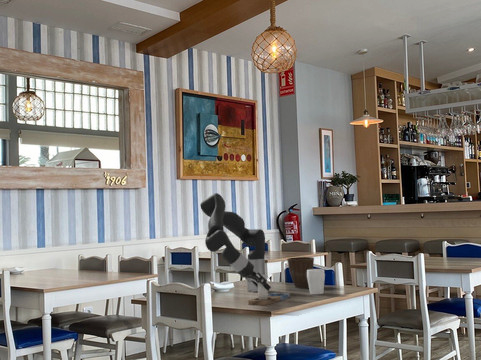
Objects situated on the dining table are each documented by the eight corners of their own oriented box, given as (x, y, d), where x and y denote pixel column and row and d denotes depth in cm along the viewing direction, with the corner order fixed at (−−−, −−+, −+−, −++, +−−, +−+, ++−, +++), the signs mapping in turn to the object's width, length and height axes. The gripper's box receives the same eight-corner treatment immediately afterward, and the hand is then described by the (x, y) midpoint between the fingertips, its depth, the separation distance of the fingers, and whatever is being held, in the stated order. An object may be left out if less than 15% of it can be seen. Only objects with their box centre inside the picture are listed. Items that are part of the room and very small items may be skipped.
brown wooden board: (248, 305, 269) (248, 300, 269) (273, 297, 292) (273, 292, 292) (266, 306, 265) (265, 301, 265) (290, 298, 288) (290, 293, 288)
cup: (322, 291, 305) (321, 268, 306) (328, 294, 296) (326, 269, 297) (305, 293, 304) (304, 269, 305) (310, 295, 295) (309, 271, 296)
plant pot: (318, 287, 323) (317, 258, 324) (291, 289, 321) (290, 259, 322) (311, 284, 337) (310, 256, 338) (286, 286, 335) (284, 258, 336)
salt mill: (256, 303, 272) (255, 275, 272) (261, 302, 275) (259, 274, 276) (265, 303, 269) (264, 275, 270) (269, 302, 273) (268, 274, 274)
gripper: (229, 270, 274) (253, 292, 278) (243, 272, 261) (267, 296, 266) (239, 258, 277) (262, 280, 281) (253, 259, 264) (277, 283, 268)
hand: (264, 288), depth 273 cm, fingers open, 8 cm apart
